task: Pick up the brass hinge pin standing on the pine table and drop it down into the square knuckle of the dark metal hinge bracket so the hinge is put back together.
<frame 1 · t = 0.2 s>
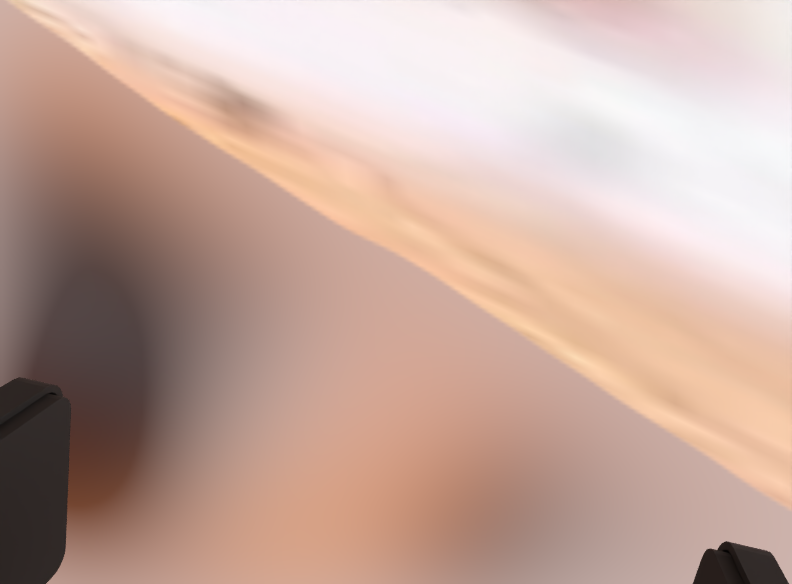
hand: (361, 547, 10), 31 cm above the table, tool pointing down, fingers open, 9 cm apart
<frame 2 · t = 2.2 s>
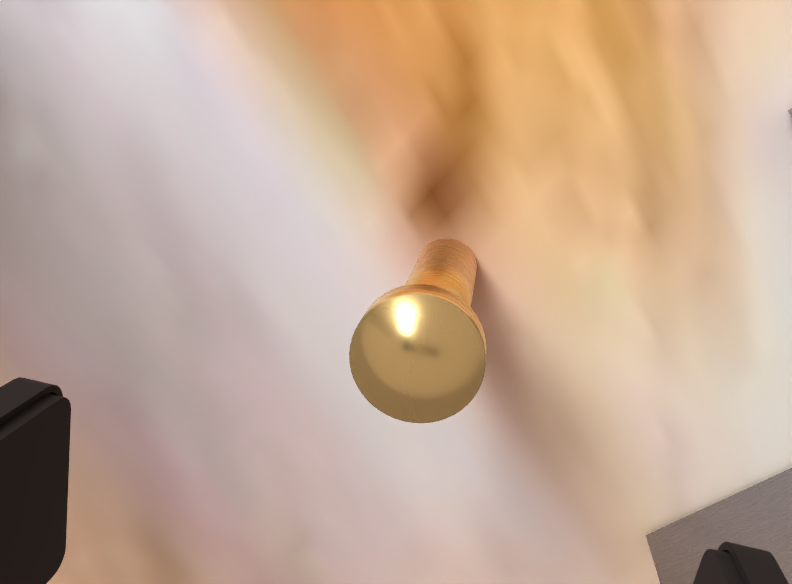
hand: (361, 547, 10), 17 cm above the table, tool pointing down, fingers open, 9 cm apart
hinge pin: (447, 267, 27), on the table
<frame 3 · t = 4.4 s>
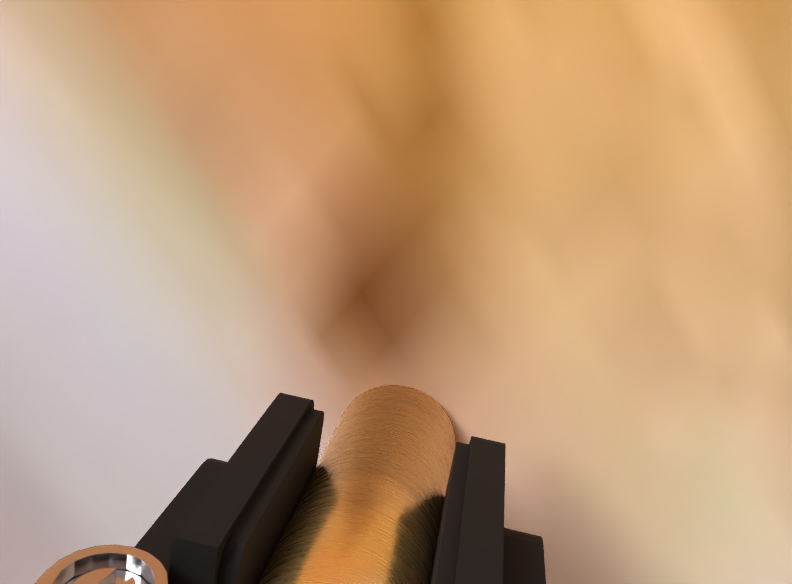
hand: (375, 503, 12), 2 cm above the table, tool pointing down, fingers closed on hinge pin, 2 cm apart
hinge pin: (396, 439, 14), on the table, touching gripper
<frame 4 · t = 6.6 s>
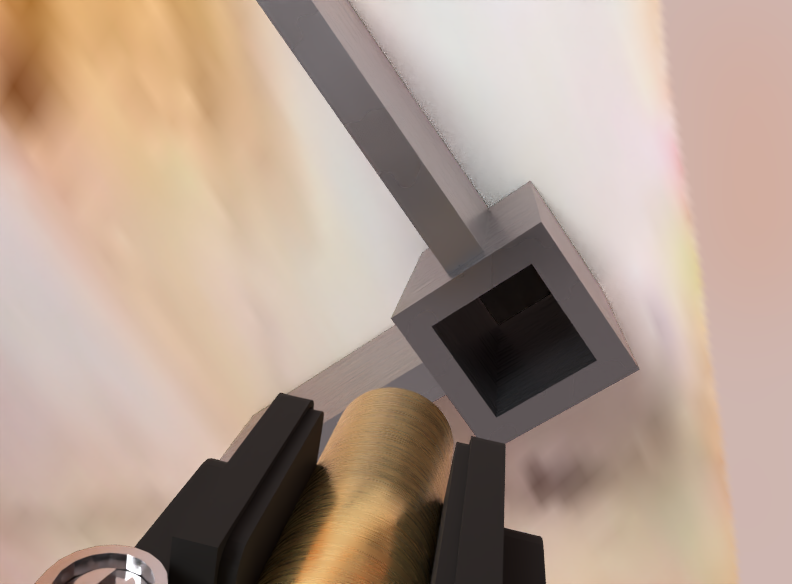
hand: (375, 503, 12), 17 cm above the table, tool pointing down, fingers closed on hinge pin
hinge bracket: (510, 269, 27), on the table
hinge pin: (394, 442, 14), point 15 cm above the table, touching gripper
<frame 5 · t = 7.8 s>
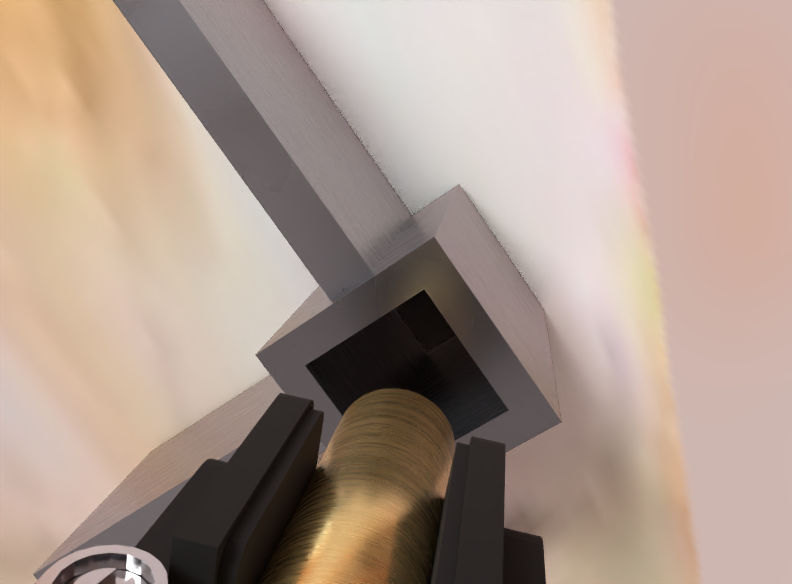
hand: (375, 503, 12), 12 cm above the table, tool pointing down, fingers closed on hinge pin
hinge bracket: (438, 287, 23), on the table
hinge pin: (395, 442, 14), point 10 cm above the table, touching gripper
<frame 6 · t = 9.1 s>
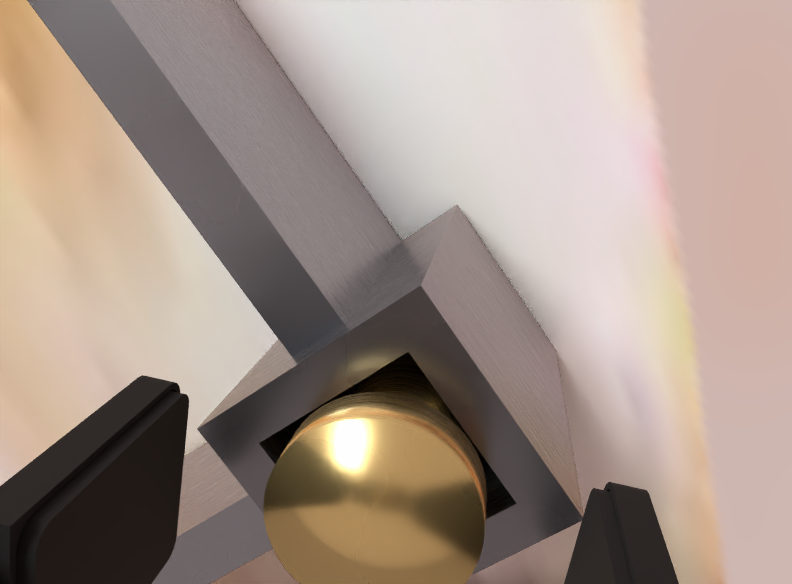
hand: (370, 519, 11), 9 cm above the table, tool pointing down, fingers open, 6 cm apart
hinge bracket: (433, 324, 20), on the table
hinge pin: (435, 324, 20), resting in hinge bracket
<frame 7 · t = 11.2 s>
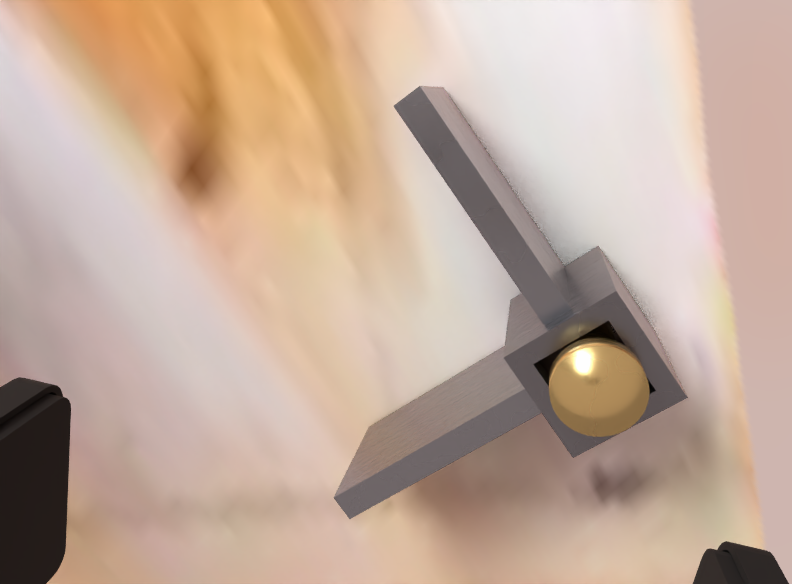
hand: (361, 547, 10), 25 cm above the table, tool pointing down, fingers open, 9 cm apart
hinge bracket: (581, 314, 35), on the table
hinge pin: (582, 314, 35), resting in hinge bracket
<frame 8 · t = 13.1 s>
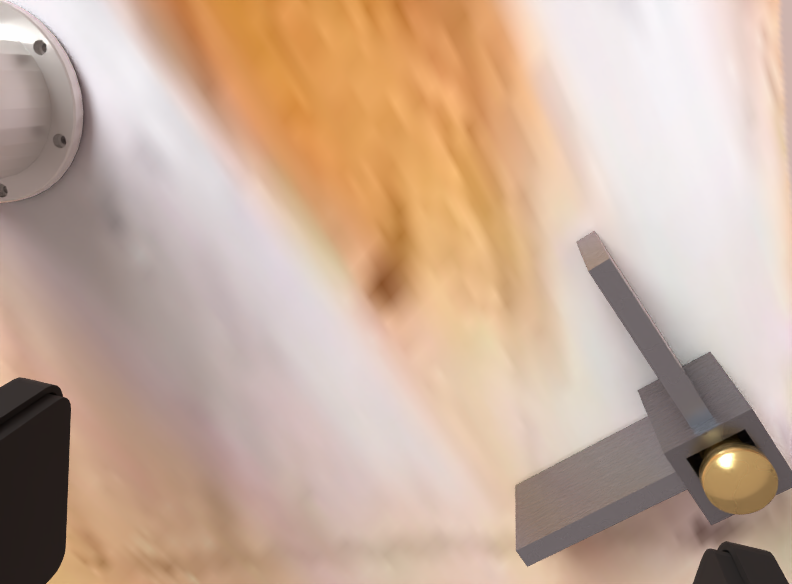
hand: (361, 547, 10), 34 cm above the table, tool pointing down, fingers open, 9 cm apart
hinge bracket: (693, 402, 44), on the table
hinge pin: (694, 402, 44), resting in hinge bracket
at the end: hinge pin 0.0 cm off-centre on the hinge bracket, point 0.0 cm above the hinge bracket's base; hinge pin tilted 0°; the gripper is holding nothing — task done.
